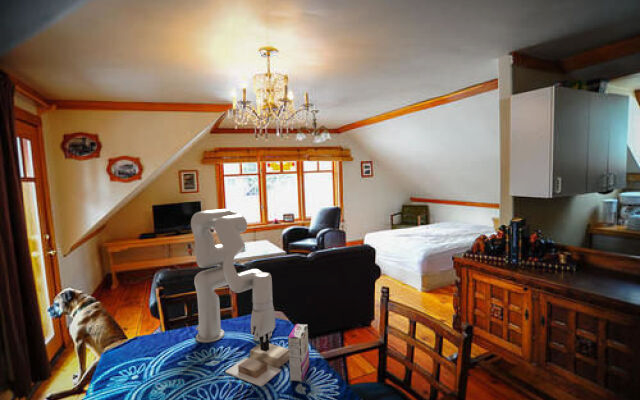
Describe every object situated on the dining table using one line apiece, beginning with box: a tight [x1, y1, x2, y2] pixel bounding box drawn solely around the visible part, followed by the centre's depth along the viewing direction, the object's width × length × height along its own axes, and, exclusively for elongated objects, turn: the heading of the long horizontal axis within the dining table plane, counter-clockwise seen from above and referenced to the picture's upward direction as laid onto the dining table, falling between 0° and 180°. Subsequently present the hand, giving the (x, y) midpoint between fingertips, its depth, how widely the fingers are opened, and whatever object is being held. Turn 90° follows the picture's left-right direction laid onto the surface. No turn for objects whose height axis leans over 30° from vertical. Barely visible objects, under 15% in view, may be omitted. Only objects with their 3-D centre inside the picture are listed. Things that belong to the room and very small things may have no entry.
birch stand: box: [249, 342, 289, 369], centre depth 134 cm, size 14×8×4 cm, turn 59°
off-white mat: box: [225, 357, 282, 388], centre depth 126 cm, size 18×11×1 cm, turn 59°
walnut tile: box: [238, 357, 267, 379], centre depth 125 cm, size 9×6×2 cm, turn 59°
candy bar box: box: [287, 323, 310, 383], centre depth 124 cm, size 11×5×16 cm, turn 168°
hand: (264, 349), depth 131 cm, fingers closed
